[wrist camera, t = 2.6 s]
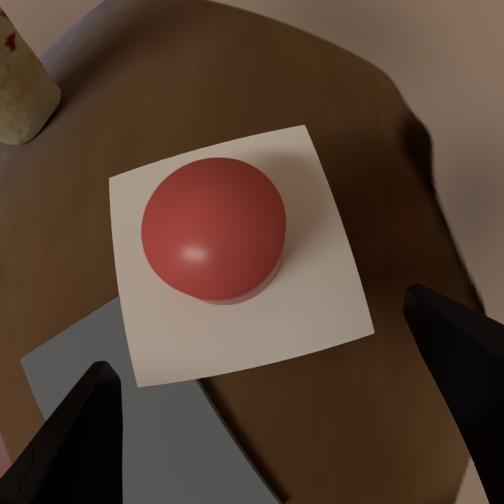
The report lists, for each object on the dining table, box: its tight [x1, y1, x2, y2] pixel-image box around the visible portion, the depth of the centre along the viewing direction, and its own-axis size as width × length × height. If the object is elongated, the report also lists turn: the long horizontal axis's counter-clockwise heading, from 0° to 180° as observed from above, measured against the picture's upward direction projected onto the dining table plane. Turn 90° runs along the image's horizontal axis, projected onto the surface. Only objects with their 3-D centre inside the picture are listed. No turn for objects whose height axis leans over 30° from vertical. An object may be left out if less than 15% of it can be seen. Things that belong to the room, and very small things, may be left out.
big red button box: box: [109, 125, 374, 387], centre depth 11 cm, size 5×5×12 cm
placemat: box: [20, 296, 283, 504], centre depth 15 cm, size 16×12×1 cm
